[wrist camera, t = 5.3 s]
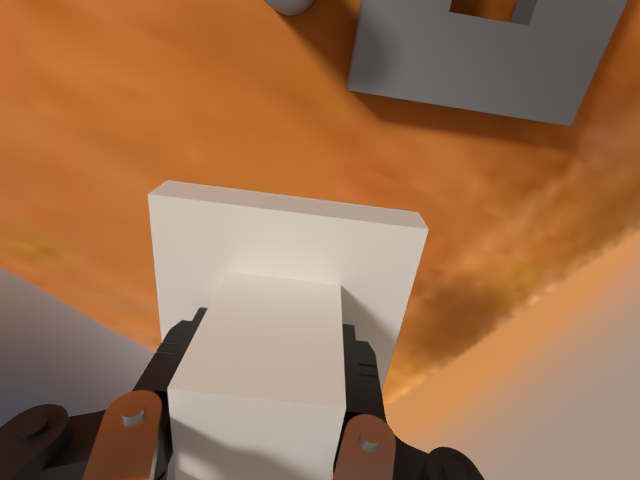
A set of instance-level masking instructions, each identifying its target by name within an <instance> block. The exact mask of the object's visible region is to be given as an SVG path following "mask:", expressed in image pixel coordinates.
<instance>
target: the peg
mask: <svg viewBox="0 0 640 480" xmlns="http://www.w3.org/2000/svg"><path fill="white" fill-rule="evenodd" d="M265 1H266V2H267V3H268V4H269V5H270V6H271V7H272V8H273V9H274V10H275V11H277V12H279V13H281V14H283V15H288V16H294V15H298V14H301V13H303V12H304V11H306V10H307V9H308V8H309V7H310V6H311V5H312V3H313V2H314V0H265Z"/></svg>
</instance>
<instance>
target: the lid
mask: <svg viewBox="0 0 640 480" xmlns="http://www.w3.org/2000/svg"><path fill="white" fill-rule="evenodd" d="M148 202H149V213H150V223H151V234H152V244H153V255H154V265H155V275H156V286H157V296H158V307H159V317H160V328H161V338H162V342H163V340H164V338H165V336H166V335H167V333H168V331H169V330H170V329H171V328H172V327H173V326H175V325H176V324H177V323H179V322H180V321H181V320H186V321H192V320H193V318H194V316H195V314H196V313H197V311H198V309H199V308H200V307H205V308H208V309H207V311H206V313H205V315H204V317H203V319H202V321H201V323H200V325H199V327H198V329H197V331H196V333H195V335H194V337H193V339H192V340H191V342H190V344H189V346H188V348H187V350H186V352H185V354H184V356H183V358H182V360H181V362H180V364H179V366H178V368H177V370H176V372H175V374H174V376H173V378H172V380H171V382H170V384H169V386H168V388H167V392H168V403H169V413H170V424H171V435H172V445H173V455H174V466H175V477H176V480H330V476H331V472H332V468H333V463H334V459H335V454H336V450H337V446H338V441H339V437H340V433H341V428H342V424H343V420H344V415H345V411H346V393H345V372H344V351H343V330H342V324H349V325H354V327H355V336H356V340H358V341H367V342H368V343H369V344H370V346H371V347H372V349H373V350H374V352H375V354H376V361H377V368H378V373H379V380H380V386H381V392H382V390H383V387H384V383H385V380H386V376H387V373H388V369H389V366H390V362H391V359H392V355H393V352H394V348H395V345H396V341H397V338H398V334H399V331H400V327H401V324H402V320H403V317H404V313H405V310H406V307H407V303H408V300H409V296H410V293H411V289H412V286H413V282H414V279H415V275H416V272H417V268H418V265H419V261H420V258H421V254H422V251H423V247H424V244H425V240H426V237H427V233H428V230H429V229H428V227H427V226H426V224H425V222H424V221H423V219H422V218H421V216H420V214H419V213H418V212H413V211H405V210H397V209H390V208H382V207H374V206H366V205H358V204H350V203H342V202H335V201H327V200H319V199H311V198H303V197H295V196H287V195H279V194H272V193H264V192H256V191H248V190H240V189H232V188H224V187H217V186H209V185H201V184H193V183H185V182H177V181H169V180H167V181H166V182H164V183H163V184H161V185H160V186H158V187H157V188H156V189H154V190H153V191H151V192H150V193H148Z"/></svg>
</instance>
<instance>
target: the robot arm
mask: <svg viewBox="0 0 640 480" xmlns="http://www.w3.org/2000/svg"><path fill="white" fill-rule="evenodd" d="M207 309H208V308H205V307H200V308H199V309H198V311H197V313H196V314H195V316H194V318H193V320H192V321H186V320H181V321H180V322H179V323H177V324H176V325H175V326H173V327H172V328H171V329H170V330H169V331H168V333H167V335H166V336H165V338H164V340H163V342H162V343H161V345H160V346H159V348H158V350H157V352H156V353H155V354H154V356H153V358H152V359H151V361H150V363H149V364H148V366H147V368H146V369H145V371H144V373H143V374H142V376H141V377H140V379H139V381H138V382H137V384H136V386H135V387H134V389H133V390H132V392H129V393H127V394H124V395H122V396H120V397H119V398H117V399H116V400H115V401H114V402H112V403H111V404H110V406H109V407H108V408H107V409H106V410H103V411H99V412H95V413H90V414H83V415H77V416H72V417H69V416H68V413H67V411H66V410H65V409H64V408H63V407H62V406H59V405H54V404H46V405H39V406H36V407H33V408H30V409H28V410H26V411H24V412H22V413H20V414H19V415H17V416H15V417H14V418H12V419H11V420H10V421H8V422H7V423H6V424H4V425H3V426H2V427H0V480H167V477H168V467H169V466H168V463H169V461H170V458H171V456H172V453H173V445H172V435H171V424H170V413H169V403H168V392H167V388H168V386H169V384H170V382H171V380H172V378H173V376H174V374H175V372H176V370H177V368H178V366H179V364H180V362H181V360H182V358H183V356H184V354H185V352H186V350H187V348H188V346H189V344H190V342H191V340H192V339H193V337H194V335H195V333H196V331H197V329H198V327H199V325H200V323H201V321H202V319H203V317H204V315H205V313H206V311H207ZM342 330H343V351H344V372H345V393H346V411H345V415H344V420H343V424H342V428H341V433H340V437H339V441H338V446H337V450H336V454H335V459H334V463H333V480H484V478H483V477H482V475H481V474H480V472H479V471H478V469H477V468H476V466H475V465H474V464H473V462H472V461H471V460H470V459H468V458H467V457H466V456H465V455H464V454H462V453H461V452H459V451H457V450H455V449H452V448H448V447H438V448H436V449H434V450H432V451H431V452H430V453H429V454H428V453H425V452H423V451H421V450H418V449H416V448H414V447H412V446H409V445H407V444H405V443H404V442H402V441H401V440H400V439H399V438H397V437H396V436H395V435H394V433H393V431H392V429H391V428H390V427H389V425H388V424H387V421H386V417H385V413H384V405H383V399H382V392H381V386H380V380H379V373H378V368H377V361H376V354H375V352H374V350H373V349H372V347H371V346H370V344H369V343H368V342H367V341H358V340H356V336H355V327H354V325H349V324H342Z"/></svg>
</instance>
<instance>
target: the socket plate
mask: <svg viewBox="0 0 640 480" xmlns="http://www.w3.org/2000/svg"><path fill="white" fill-rule="evenodd" d="M627 1H628V0H517V2H516V5H515V8H514V11H513V14H512V17H511V20H510V22H504V21H499V20H493V19H487V18H481V17H476V16H470V15H464V14H459V13H453V12H449V9H450V6H451V2H452V0H361V2H360V8H359V14H358V20H357V26H356V32H355V38H354V44H353V50H352V56H351V62H350V68H349V74H348V80H347V86H346V88H347V89H348V90H349V91H355V92H361V93H367V94H373V95H380V96H386V97H392V98H398V99H404V100H410V101H417V102H423V103H429V104H435V105H441V106H447V107H454V108H460V109H466V110H472V111H478V112H484V113H491V114H497V115H503V116H509V117H515V118H521V119H528V120H534V121H540V122H546V123H552V124H559V125H565V126H571V125H572V122H573V120H574V118H575V116H576V114H577V111H578V109H579V107H580V105H581V103H582V100H583V98H584V96H585V94H586V91H587V89H588V87H589V85H590V83H591V80H592V78H593V76H594V74H595V72H596V69H597V67H598V65H599V63H600V60H601V58H602V56H603V54H604V52H605V49H606V47H607V45H608V43H609V41H610V38H611V36H612V34H613V32H614V29H615V27H616V25H617V23H618V21H619V18H620V16H621V14H622V12H623V10H624V7H625V5H626V3H627Z"/></svg>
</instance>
